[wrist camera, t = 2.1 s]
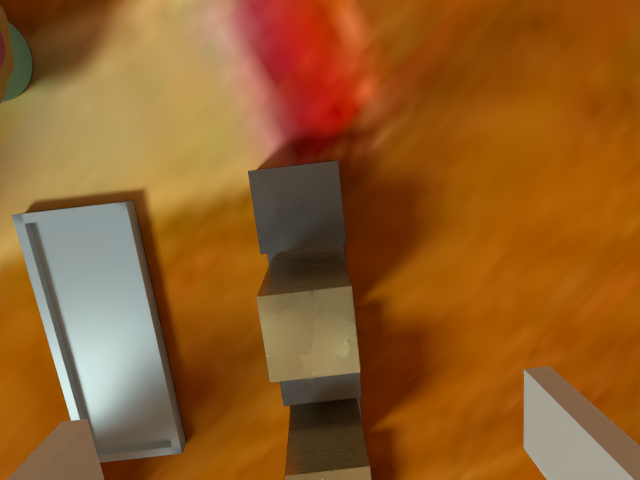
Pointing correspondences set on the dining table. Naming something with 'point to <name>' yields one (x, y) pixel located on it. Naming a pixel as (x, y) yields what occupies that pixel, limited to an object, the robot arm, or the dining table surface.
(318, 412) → the cream upright block
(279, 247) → the gray notched bar
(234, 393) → the dining table surface
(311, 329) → the beige rectangular block
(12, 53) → the cupcake
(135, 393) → the tray
